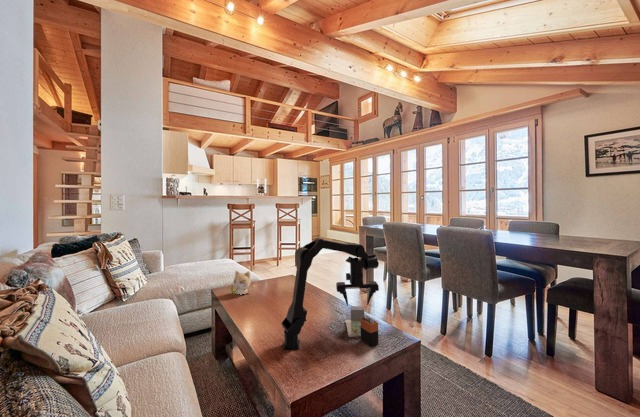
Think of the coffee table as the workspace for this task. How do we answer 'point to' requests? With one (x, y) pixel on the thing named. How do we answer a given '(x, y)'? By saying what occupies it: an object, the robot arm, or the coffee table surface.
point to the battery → (369, 331)
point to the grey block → (356, 315)
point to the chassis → (352, 330)
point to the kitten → (242, 283)
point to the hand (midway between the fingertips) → (357, 305)
